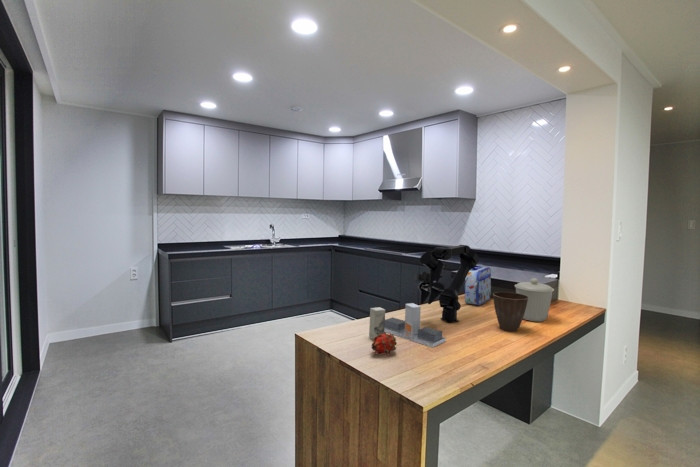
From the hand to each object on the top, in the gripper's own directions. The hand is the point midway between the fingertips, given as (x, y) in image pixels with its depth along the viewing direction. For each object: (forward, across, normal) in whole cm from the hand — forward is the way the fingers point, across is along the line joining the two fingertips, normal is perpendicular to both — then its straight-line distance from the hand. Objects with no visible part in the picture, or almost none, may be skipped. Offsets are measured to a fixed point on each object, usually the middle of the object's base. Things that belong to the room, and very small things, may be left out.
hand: (424, 303), depth 164 cm
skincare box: (+14, +5, -4) cm, 16 cm away
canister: (-16, -11, +61) cm, 64 cm away
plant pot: (-4, +2, +41) cm, 42 cm away
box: (+23, +7, -18) cm, 29 cm away
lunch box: (-19, -44, +48) cm, 67 cm away
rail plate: (+16, +5, -3) cm, 17 cm away
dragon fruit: (+27, +22, -18) cm, 39 cm away
